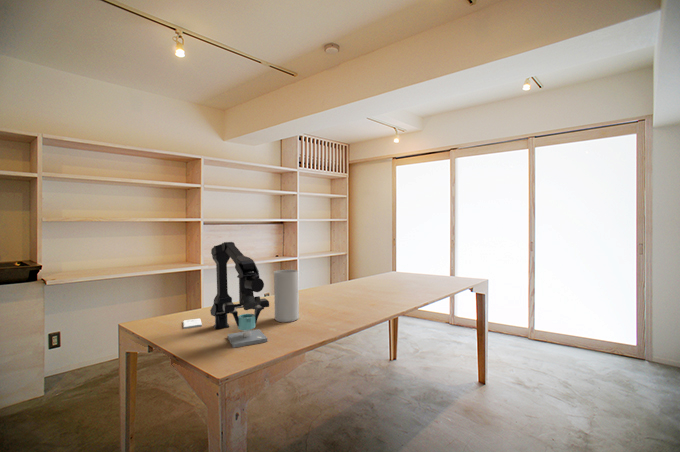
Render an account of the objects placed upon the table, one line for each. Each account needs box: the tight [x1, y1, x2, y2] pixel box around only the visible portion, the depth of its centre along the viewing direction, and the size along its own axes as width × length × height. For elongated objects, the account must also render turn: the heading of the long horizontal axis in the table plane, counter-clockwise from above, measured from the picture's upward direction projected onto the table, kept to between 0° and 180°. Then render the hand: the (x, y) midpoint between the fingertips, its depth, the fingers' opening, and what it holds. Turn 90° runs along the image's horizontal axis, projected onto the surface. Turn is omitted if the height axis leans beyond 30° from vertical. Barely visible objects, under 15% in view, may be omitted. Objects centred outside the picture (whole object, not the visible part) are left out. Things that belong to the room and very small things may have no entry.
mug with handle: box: [237, 313, 256, 331], centre depth 143 cm, size 8×7×5 cm
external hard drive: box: [182, 318, 203, 330], centre depth 168 cm, size 2×8×12 cm
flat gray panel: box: [227, 328, 268, 349], centre depth 144 cm, size 14×14×6 cm
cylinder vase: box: [273, 269, 300, 323], centre depth 174 cm, size 12×12×25 cm
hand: (246, 325), depth 144 cm, fingers closed on mug with handle, 7 cm apart
